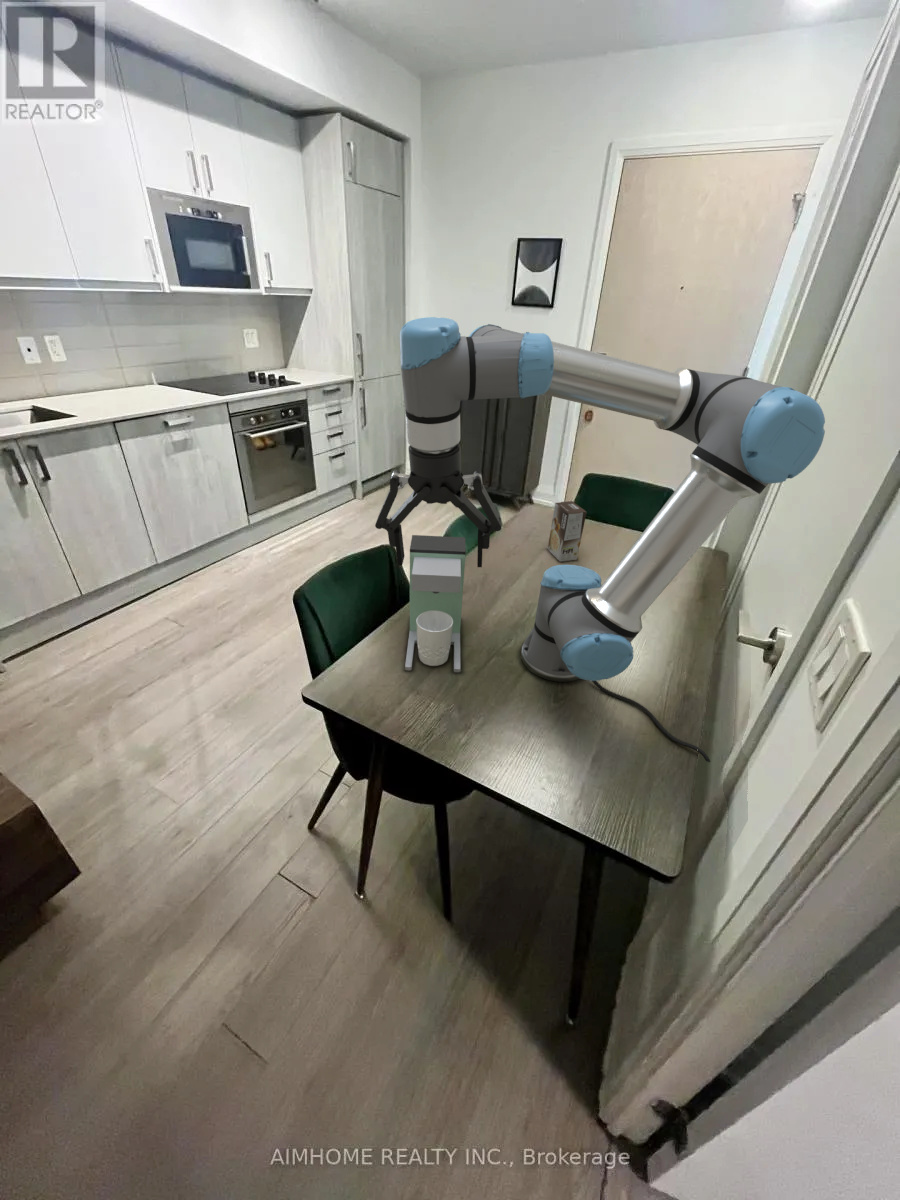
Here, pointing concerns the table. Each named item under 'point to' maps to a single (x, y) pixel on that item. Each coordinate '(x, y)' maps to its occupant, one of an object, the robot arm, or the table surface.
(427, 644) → the white cup
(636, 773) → the table surface
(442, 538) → the coffee machine
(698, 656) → the table surface
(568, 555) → the coffee box
